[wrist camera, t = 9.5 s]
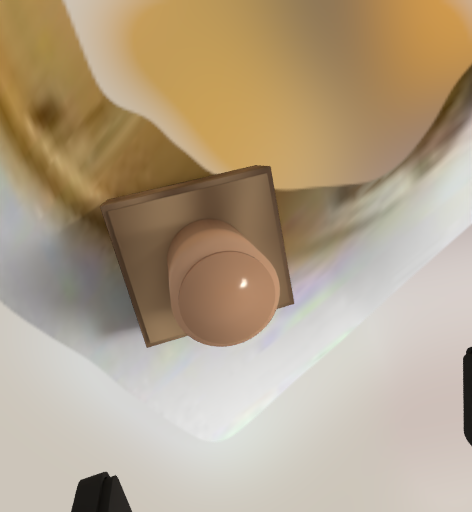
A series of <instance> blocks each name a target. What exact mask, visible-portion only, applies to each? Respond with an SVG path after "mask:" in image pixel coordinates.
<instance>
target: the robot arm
mask: <svg viewBox="0 0 472 512" xmlns="http://www.w3.org/2000/svg"><path fill="white" fill-rule="evenodd" d="M463 385H464V386H463V393H464V394H463V395H464V396H463V398H464V434H465V437H466V439H467V440H468V442H469V443H470V445H471V446H472V347H470V348H468V349H467V351H466V355H465V356H464V358H463ZM71 512H132V510H131V508H130V506H129V503H128V501H127V499H126V496H125V494H124V491H123V489H122V486H121V484H120V482H119V479H118V477H117V476H116V475H115V476H112V477H110V476H109V474H108V473H107V472H103V473H100V474H97V475H94V476H91V477H88V478H85V479H82V480H80V482H79V484H78V486H77V490H76V494H75V498H74V503H73V506H72V511H71Z"/></svg>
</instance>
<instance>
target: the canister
mask: <svg viewBox="0 0 472 512" xmlns="http://www.w3.org/2000/svg"><path fill="white" fill-rule="evenodd" d="M167 268H168V278H169V289H170V299H171V307H172V312H173V315H174V318H175V320H176V322H177V323H178V325H179V326H180V328H181V329H182V330H183V331H184V332H185V333H186V334H187V335H188V336H190V337H191V338H192V339H194V340H196V341H198V342H200V343H203V344H206V345H210V346H232V345H236V344H239V343H242V342H245V341H247V340H249V339H251V338H252V337H254V336H255V335H257V334H258V333H259V332H260V331H262V330H263V329H264V328H265V327H266V326H267V324H268V323H269V322H270V320H271V319H272V317H273V315H274V313H275V311H276V309H277V306H278V302H279V297H280V285H279V279H278V276H277V273H276V271H275V269H274V267H273V265H272V264H271V263H270V261H269V260H268V259H267V258H266V257H265V256H264V255H263V254H262V253H261V252H260V251H259V250H258V249H257V248H256V247H255V246H254V245H253V244H252V243H250V242H249V241H248V240H247V239H246V238H245V237H244V236H243V235H242V234H241V233H240V232H239V231H238V230H237V229H236V228H235V227H233V226H232V225H230V224H228V223H227V222H224V221H221V220H217V219H203V220H198V221H195V222H193V223H190V224H188V225H187V226H185V227H184V228H183V229H181V230H180V231H179V232H178V233H177V234H176V236H175V237H174V238H173V240H172V242H171V244H170V246H169V249H168V254H167Z"/></svg>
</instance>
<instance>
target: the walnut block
mask: <svg viewBox="0 0 472 512" xmlns="http://www.w3.org/2000/svg"><path fill="white" fill-rule="evenodd" d="M100 208H101V211H102V214H103V217H104V220H105V223H106V226H107V229H108V232H109V235H110V238H111V241H112V244H113V247H114V250H115V253H116V256H117V259H118V262H119V265H120V268H121V271H122V274H123V277H124V280H125V283H126V286H127V289H128V292H129V295H130V298H131V301H132V305H133V308H134V311H135V314H136V317H137V320H138V323H139V326H140V329H141V332H142V335H143V338H144V341H145V344H146V347H147V348H148V347H151V346H155V345H158V344H161V343H165V342H168V341H171V340H175V339H178V338H181V337H185V336H188V335H187V334H186V333H185V332H184V331H183V330H182V329H181V328H180V326H179V325H178V323H177V322H176V320H175V318H174V315H173V312H172V307H171V299H170V289H169V278H168V268H167V254H168V249H169V246H170V244H171V242H172V240H173V238H174V237H175V236H176V234H177V233H178V232H179V231H180V230H181V229H183V228H184V227H185V226H187V225H188V224H190V223H193V222H195V221H198V220H203V219H217V220H221V221H224V222H227V223H228V224H230V225H232V226H233V227H235V228H236V229H237V230H238V231H239V232H240V233H241V234H242V235H243V236H244V237H245V238H246V239H247V240H248V241H249V242H250V243H252V244H253V245H254V246H255V247H256V248H257V249H258V250H259V251H260V252H261V253H262V254H263V255H264V256H265V257H266V258H267V259H268V260H269V261H270V263H271V264H272V265H273V267H274V269H275V271H276V273H277V276H278V279H279V285H280V297H279V302H278V306H277V309H278V308H282V307H285V306H288V305H292V304H294V299H293V293H292V288H291V282H290V276H289V270H288V265H287V259H286V253H285V247H284V242H283V236H282V230H281V224H280V219H279V213H278V207H277V201H276V196H275V190H274V185H273V178H272V173H271V167H270V166H257V165H255V166H251V167H246V168H242V169H238V170H233V171H229V172H225V173H221V174H216V175H212V176H208V177H203V178H199V179H195V180H191V181H186V182H182V183H178V184H173V185H169V186H165V187H161V188H156V189H152V190H148V191H143V192H139V193H135V194H131V195H126V196H122V197H118V198H113V199H109V200H107V201H106V202H105V203H103V204H102V205H101V206H100Z"/></svg>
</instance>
